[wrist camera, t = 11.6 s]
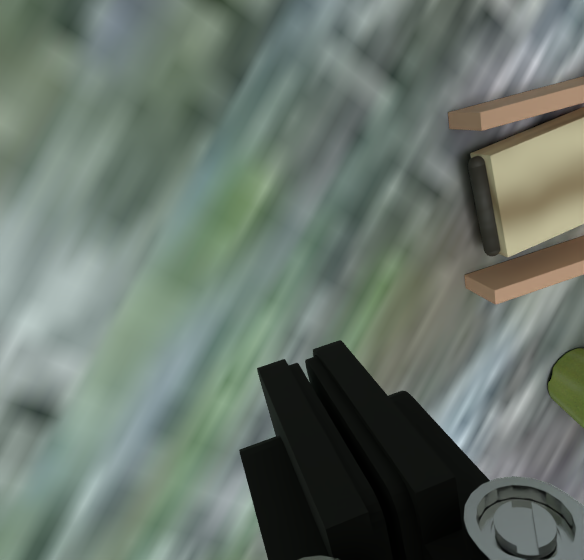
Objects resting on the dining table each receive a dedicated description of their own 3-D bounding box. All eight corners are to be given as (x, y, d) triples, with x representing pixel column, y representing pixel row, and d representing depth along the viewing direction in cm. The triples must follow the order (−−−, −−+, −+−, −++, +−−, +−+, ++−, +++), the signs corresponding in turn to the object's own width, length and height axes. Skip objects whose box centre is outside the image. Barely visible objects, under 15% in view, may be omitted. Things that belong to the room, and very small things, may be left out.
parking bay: (447, 112, 37) (480, 112, 34) (608, 69, 40) (655, 65, 36) (465, 287, 43) (495, 304, 39) (606, 240, 45) (647, 252, 41)
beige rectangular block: (449, 156, 39) (477, 161, 35) (571, 107, 40) (609, 106, 37) (469, 250, 42) (496, 262, 38) (581, 201, 43) (617, 208, 40)
